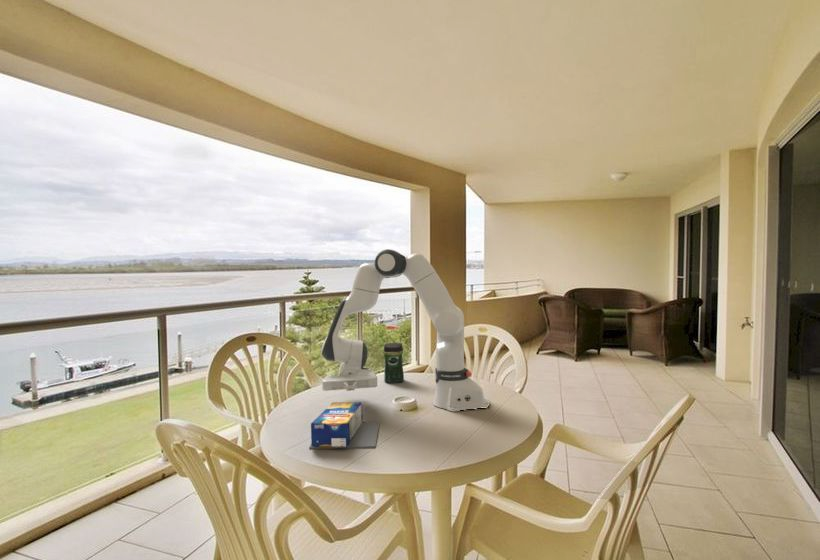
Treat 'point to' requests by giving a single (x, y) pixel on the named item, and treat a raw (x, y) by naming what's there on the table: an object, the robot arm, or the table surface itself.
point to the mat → (361, 437)
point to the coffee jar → (393, 363)
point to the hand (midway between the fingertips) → (350, 388)
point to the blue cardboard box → (337, 424)
